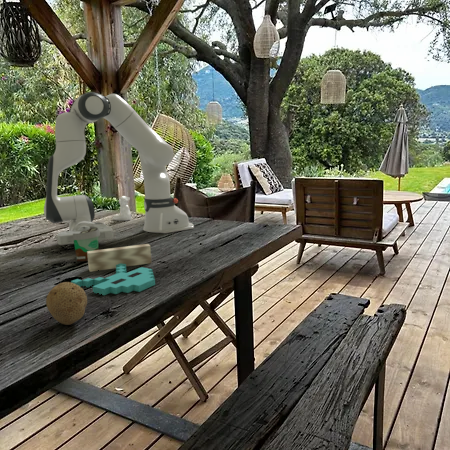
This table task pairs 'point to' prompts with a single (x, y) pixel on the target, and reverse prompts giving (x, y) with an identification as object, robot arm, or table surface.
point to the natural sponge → (66, 302)
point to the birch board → (119, 257)
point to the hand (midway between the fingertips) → (88, 240)
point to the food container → (86, 243)
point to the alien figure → (120, 281)
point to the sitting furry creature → (123, 210)
